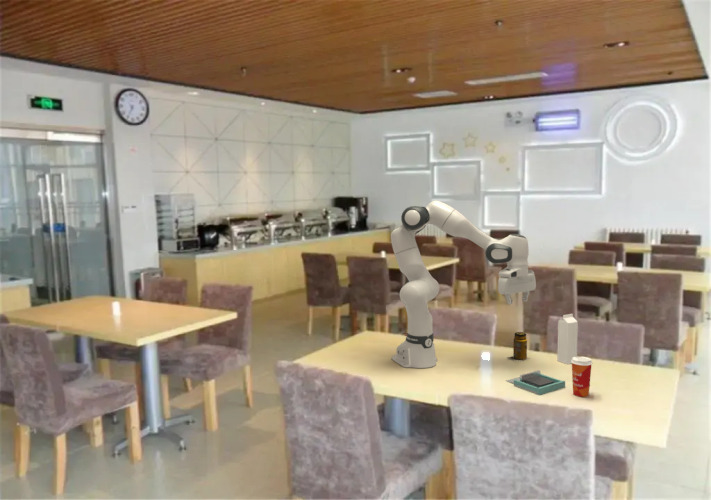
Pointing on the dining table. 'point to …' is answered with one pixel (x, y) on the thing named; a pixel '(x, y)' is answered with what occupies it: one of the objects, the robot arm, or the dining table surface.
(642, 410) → the dining table surface
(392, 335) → the dining table surface
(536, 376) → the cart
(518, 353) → the condiment
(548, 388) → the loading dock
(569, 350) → the milk
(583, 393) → the paper cup
